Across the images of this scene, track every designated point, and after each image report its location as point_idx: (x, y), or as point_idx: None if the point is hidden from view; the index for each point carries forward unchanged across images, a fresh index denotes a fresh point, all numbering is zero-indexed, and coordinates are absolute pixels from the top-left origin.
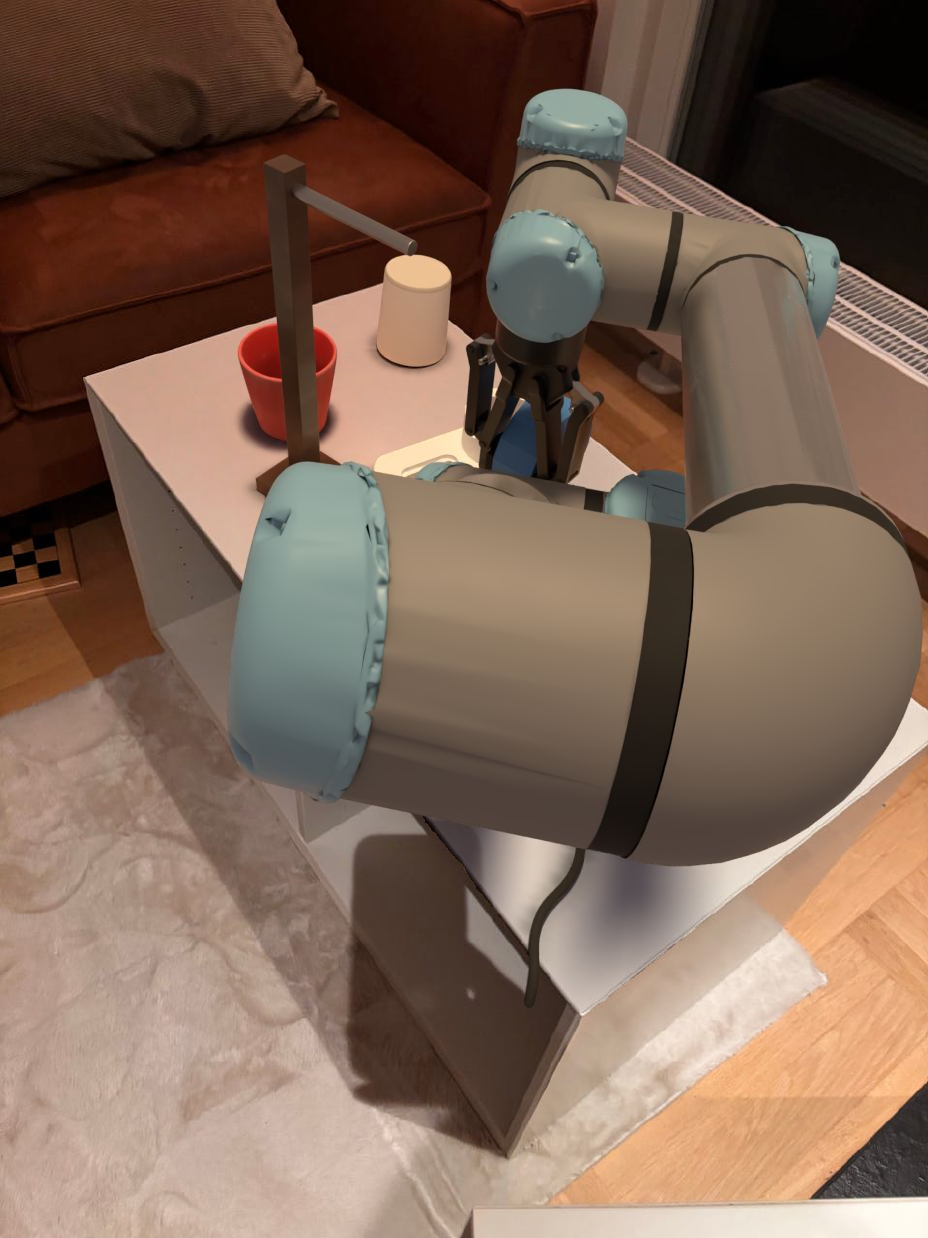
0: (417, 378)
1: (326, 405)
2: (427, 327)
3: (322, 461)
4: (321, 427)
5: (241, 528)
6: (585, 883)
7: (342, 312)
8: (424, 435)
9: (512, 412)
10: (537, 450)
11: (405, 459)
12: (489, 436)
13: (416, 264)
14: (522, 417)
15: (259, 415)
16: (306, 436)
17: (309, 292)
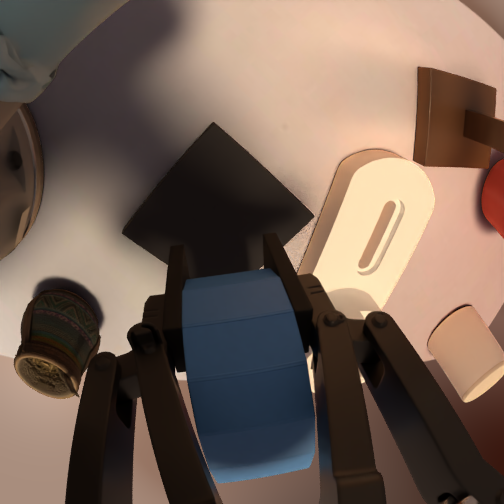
0: (437, 313)
1: (500, 218)
2: (458, 355)
3: (470, 155)
4: (484, 200)
5: (462, 27)
6: None
7: (497, 307)
8: (406, 273)
9: (318, 428)
10: (175, 407)
11: (410, 225)
12: (329, 347)
13: (489, 384)
14: (292, 429)
15: None
16: None
17: None
